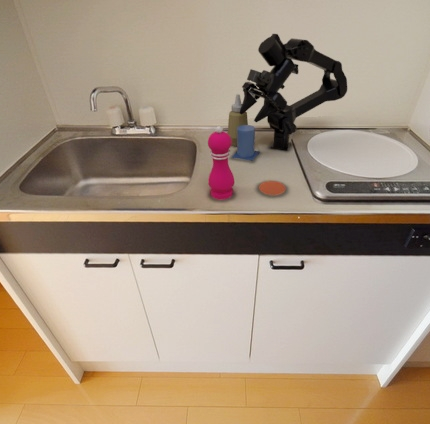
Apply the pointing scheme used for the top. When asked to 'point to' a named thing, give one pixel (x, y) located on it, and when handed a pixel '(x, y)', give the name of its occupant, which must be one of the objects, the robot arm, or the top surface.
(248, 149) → the blue tin
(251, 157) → the blue mat
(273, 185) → the terracotta mat
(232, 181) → the pepper mill
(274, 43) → the robot arm
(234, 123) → the squeeze bottle
